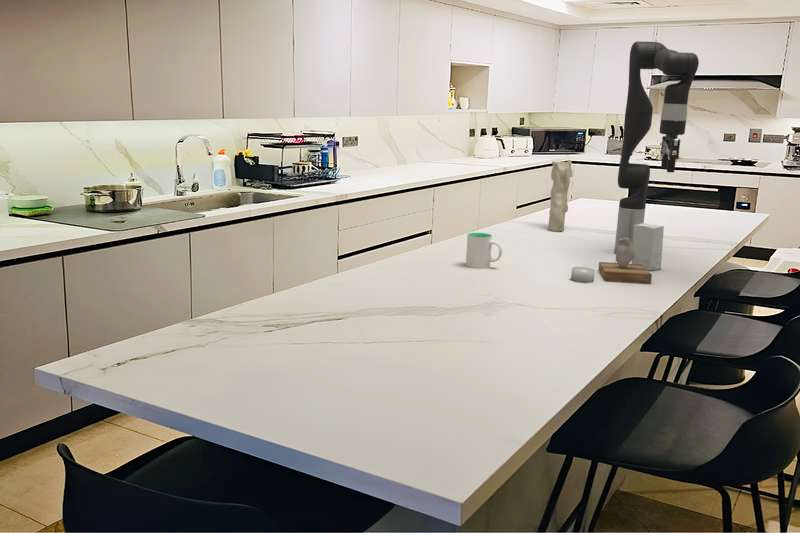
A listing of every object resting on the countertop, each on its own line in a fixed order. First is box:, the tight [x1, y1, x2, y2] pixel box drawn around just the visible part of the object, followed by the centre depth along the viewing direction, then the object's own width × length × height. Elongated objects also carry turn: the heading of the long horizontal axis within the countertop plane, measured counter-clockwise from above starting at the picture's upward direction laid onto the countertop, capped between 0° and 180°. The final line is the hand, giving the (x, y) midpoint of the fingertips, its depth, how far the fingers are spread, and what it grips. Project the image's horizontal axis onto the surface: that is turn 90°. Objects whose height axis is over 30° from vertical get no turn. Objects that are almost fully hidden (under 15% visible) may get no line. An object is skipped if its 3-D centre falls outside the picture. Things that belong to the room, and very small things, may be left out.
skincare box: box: [631, 223, 665, 271], centre depth 250 cm, size 8×6×15 cm
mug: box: [465, 232, 503, 269], centre depth 244 cm, size 12×8×10 cm, turn 65°
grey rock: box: [615, 237, 635, 268], centre depth 236 cm, size 6×4×10 cm, turn 73°
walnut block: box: [597, 261, 653, 285], centre depth 237 cm, size 14×14×3 cm
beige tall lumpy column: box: [547, 159, 573, 233], centre depth 311 cm, size 9×8×30 cm
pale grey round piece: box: [570, 266, 596, 284], centre depth 231 cm, size 7×7×4 cm
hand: (667, 170), depth 234 cm, fingers open, 8 cm apart
